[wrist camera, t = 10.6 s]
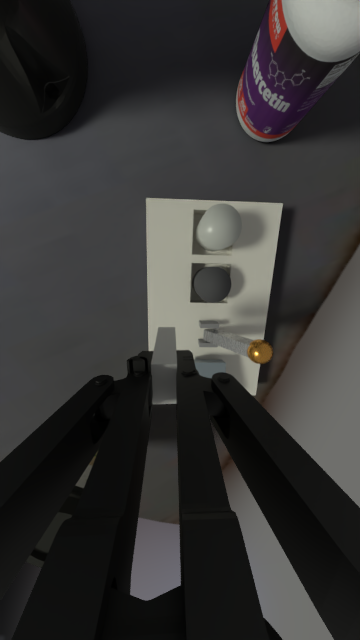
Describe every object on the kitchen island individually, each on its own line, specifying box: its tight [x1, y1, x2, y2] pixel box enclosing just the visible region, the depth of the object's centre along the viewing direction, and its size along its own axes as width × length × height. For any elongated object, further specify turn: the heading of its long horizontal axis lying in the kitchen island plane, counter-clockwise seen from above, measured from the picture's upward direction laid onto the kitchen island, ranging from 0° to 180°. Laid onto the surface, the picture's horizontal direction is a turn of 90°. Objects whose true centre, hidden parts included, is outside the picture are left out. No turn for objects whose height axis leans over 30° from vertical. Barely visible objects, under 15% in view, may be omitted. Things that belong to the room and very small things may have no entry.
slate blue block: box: [194, 359, 226, 378], centre depth 26 cm, size 6×4×2 cm
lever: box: [203, 328, 273, 364], centre depth 23 cm, size 3×3×9 cm
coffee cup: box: [26, 451, 98, 568], centre depth 27 cm, size 10×10×15 cm
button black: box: [193, 267, 231, 303], centre depth 25 cm, size 4×4×4 cm
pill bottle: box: [236, 0, 360, 142], centre depth 16 cm, size 8×8×14 cm
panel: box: [146, 198, 283, 395], centre depth 27 cm, size 26×16×5 cm, turn 179°
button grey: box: [196, 203, 242, 252], centre depth 22 cm, size 4×4×4 cm
